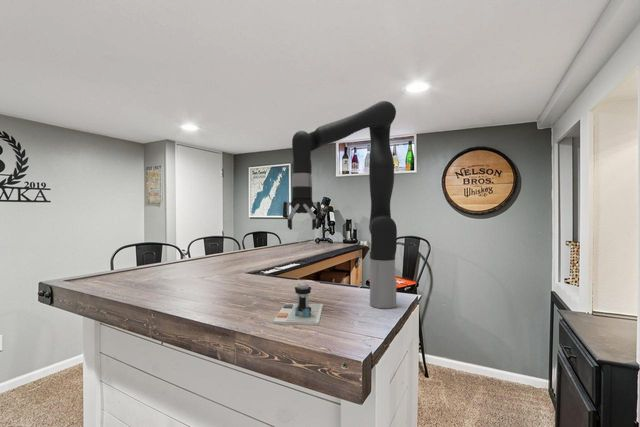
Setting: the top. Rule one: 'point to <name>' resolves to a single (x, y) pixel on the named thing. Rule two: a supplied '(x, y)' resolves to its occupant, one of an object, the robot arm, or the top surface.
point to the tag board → (289, 316)
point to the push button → (303, 301)
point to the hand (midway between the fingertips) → (302, 229)
